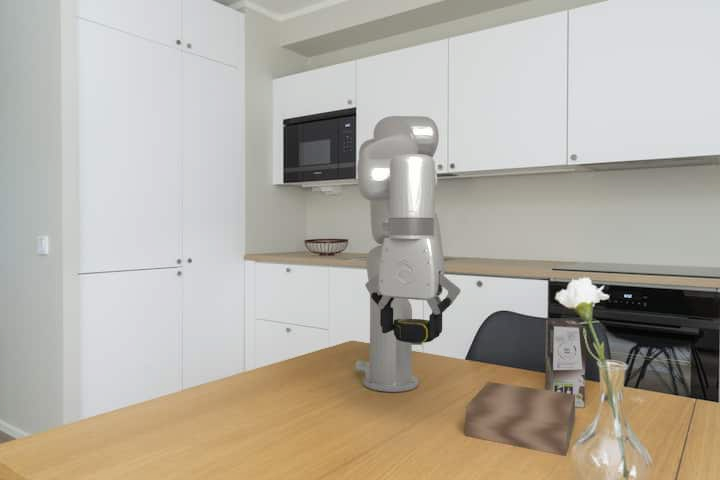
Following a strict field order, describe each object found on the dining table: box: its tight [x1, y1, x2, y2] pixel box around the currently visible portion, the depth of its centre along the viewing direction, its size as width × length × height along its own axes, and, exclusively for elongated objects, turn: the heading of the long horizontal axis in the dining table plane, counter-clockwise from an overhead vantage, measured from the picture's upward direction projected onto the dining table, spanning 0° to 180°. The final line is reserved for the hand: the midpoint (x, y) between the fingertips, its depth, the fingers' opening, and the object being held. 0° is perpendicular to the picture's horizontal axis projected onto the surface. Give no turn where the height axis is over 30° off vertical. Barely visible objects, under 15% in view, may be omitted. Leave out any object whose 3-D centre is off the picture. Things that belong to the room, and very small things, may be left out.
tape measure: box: [393, 318, 434, 346], centre depth 84 cm, size 7×7×4 cm
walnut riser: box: [464, 381, 576, 457], centre depth 89 cm, size 16×16×5 cm
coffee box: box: [544, 318, 587, 408], centre depth 105 cm, size 9×6×16 cm
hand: (410, 333), depth 84 cm, fingers closed on tape measure, 7 cm apart
